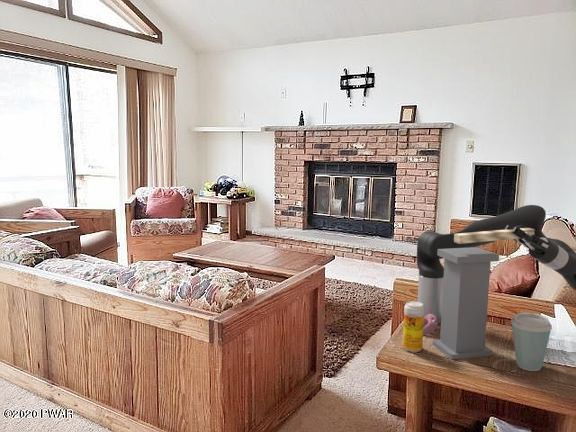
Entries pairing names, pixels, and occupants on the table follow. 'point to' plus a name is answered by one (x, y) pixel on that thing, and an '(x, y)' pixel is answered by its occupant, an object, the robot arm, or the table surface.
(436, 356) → the table surface
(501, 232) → the beech bar
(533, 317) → the disposable coffee cup
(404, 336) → the yellow bottle
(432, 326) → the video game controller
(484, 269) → the gray pedestal
